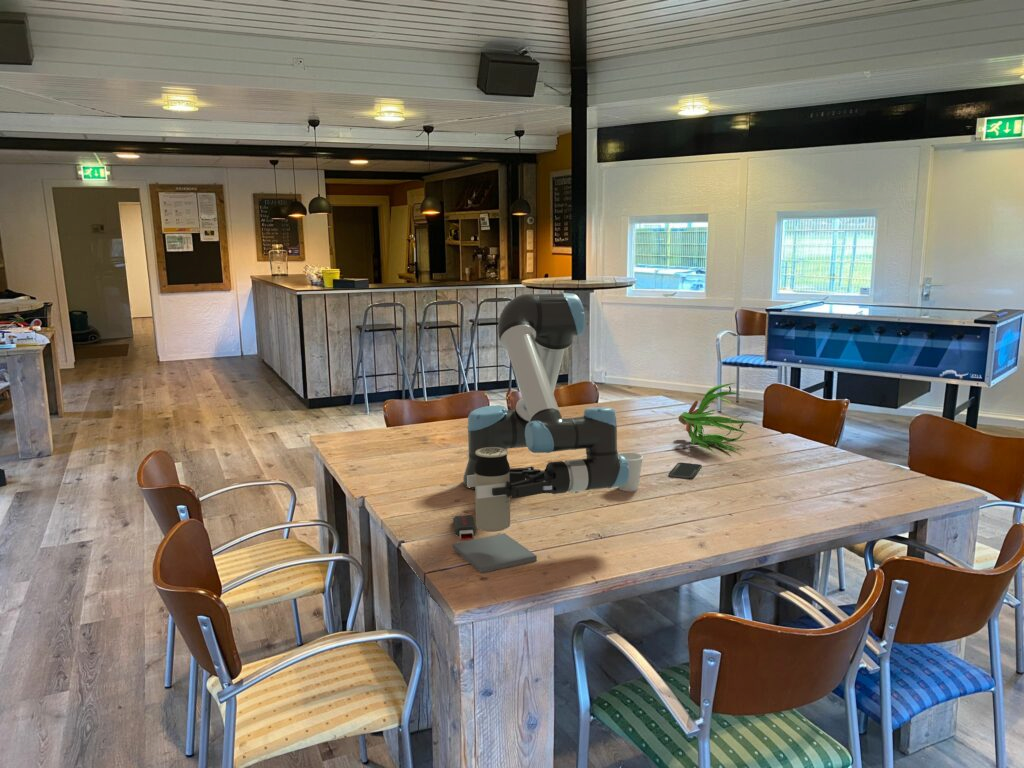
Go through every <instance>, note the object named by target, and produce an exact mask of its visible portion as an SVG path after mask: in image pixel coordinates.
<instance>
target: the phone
mask: <svg viewBox="0 0 1024 768" xmlns="http://www.w3.org/2000/svg"><path fill="white" fill-rule="evenodd" d="M702 468H703V466H702V464H699V463H691V462H690V463H689V462H677V463H676V465H675V466H673V468H672V469H671V470H670V471H669V473H668V477H670V478H676V479H682V480H683V479H684V480H694V479H695V478H696V476H697V475H698V474H699V472H700V471H701V470H702ZM700 469H701V470H700Z"/></svg>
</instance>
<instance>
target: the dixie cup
mask: <svg viewBox="0 0 1024 768" xmlns="http://www.w3.org/2000/svg"><path fill="white" fill-rule="evenodd" d="M617 453H618V455H622V456H624V457H625V458H626V460H627V462H628V467H629V479H628V481H627V483H626V484H624V485H622V486H618V489H619V490H620V491H622V490H623V492H636V491H638V490H639V485H640V484H639V483H640V479H641V478H640V477H641V470H642V464H643V459H644V456H643V455H642V454H641V453H637V452H631V451H625V452H623V451H622V452H617Z"/></svg>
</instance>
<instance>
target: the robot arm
mask: <svg viewBox="0 0 1024 768" xmlns="http://www.w3.org/2000/svg"><path fill="white" fill-rule="evenodd" d="M585 329H586V314H585V309H584V305H583V303H582V301H581V299H580V297H579V296H578V295H577V294H575V293H569V292H565V293H564V292H560V293H534V294H533V293H525V294H520V295H517V296H516V297H514V298H512V299H511V300H510V301H508V303H507V304H506V305H505V306H504V308H502V311H501V313H500V315H499V318H498V322H497V334H498V339H499V342H500V345H501V347H502V348H503V349H505V350H506V351H507V353H508V357H509V360H510V364H511V366H512V369H513V373H514V375H515V379H516V381H517V384H518V387H519V391H520V394H521V397H522V398H520V399H519V400H517V402H516V404H515V408H514V409H509V410H508V409H507V407H506V406H505V405H501V404H500V405H497V404H496V405H485V406H482V407H478V408H476V409H473V410H472V411H471V412H469V415H468V417H467V426H466V427H467V437H468V443H467V444H468V445H467V447H468V460H467V464H466V468H465V471H464V474H463V477H462V479H463V486H464V485H465V486H467V487H470V488H473V489H472V490H474V489H475V463H476V461H477V455H476V454H475V452H476V450H478V449H481V448H486V447H499V448H504V449H506V450H509V449H517V448H518V449H519V448H528V450H529V451H530V452H531V453H533V454H542V453H543V454H549V453H554V452H563V451H572V450H584V449H585V454H586V458H575V459H567V460H564V461H562V460H558V461H557V460H556V461H550V462H548V463H547V464H546V466H545V469H544V470H541V469H539V468H534V466H527V467H513V468H512V467H510V465H509V473H510V482H508V481H507V482H506V487H505V483H500V484H491V485H482V486H477V499H480V498H488V497H497V496H506V494H507V496H510V497H511V499H520V498H525V497H530V496H535V495H541V494H552V495H558V494H559V495H560V494H566V493H567V492H568V493H573V492H574V493H575V494H579V492H583V491H589V490H590V491H591V490H602V489H612V488H617V487H619V486H622V485H624V484H626V483H627V481H628V479H629V467H628V462H627V460H626V458H625V457H624V456H622V455H618V453H619V452H618V436H617V435H618V433H617V432H618V430H617V428H618V425H617V415H616V411H615V410H614V408H613V407H609V406H598V407H595V406H594V407H593V406H592V407H588V408H585V409H584V411H583V412H584V413H583V416H577V417H569V418H563V417H562V414H561V411H560V409H559V406H558V403H557V400H556V398H555V397H556V396H555V389H556V385H557V383H558V382H557V381H558V379H559V375H560V369H561V365H562V362H563V358H564V355H565V350H566V349H569V348H570V347H571V346H572V343H573V342H574V341H573V340H574V337H575V336H576V337H580V336H582V335H583V334H584V332H585ZM506 459H507V461H508V462H509V460H508V456H507V457H506ZM465 486H464V487H465ZM467 487H466V488H467ZM470 488H469V489H470Z"/></svg>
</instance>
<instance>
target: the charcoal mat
mask: <svg viewBox="0 0 1024 768" xmlns="http://www.w3.org/2000/svg"><path fill="white" fill-rule="evenodd" d="M452 548H453V549H454V550H453V549H452V550H453V551H455V552H456V554H458V553H459V554H460V555H459V554H458V555H459V556H460V557H462V558H463V559H464V560H465V561H466V560H467V561H466V562H467V563H469V564H470V565H471V566H472V567H473V568H475V569H476V570H477V571H478V572H479V573H480V574H484V573H488V572H492V571H496V570H500V569H505V568H510V567H515V566H519V565H522V564H527V563H532V562H537V561H538V560H537V554H535V553H534V552H532V551H531V550H529V549H528V548H526V547H525V546H523V545H522V544H521V543H519V542H518V541H517V540H515V539H513V538H512V537H511V536H509V535H508V534H506V533H505V532H503V533H499V534H493V535H490V536H489V535H488V536H483V537H479V538H474V539H468V540H465V541H460V542H455V543H454V542H453V543H452Z"/></svg>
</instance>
